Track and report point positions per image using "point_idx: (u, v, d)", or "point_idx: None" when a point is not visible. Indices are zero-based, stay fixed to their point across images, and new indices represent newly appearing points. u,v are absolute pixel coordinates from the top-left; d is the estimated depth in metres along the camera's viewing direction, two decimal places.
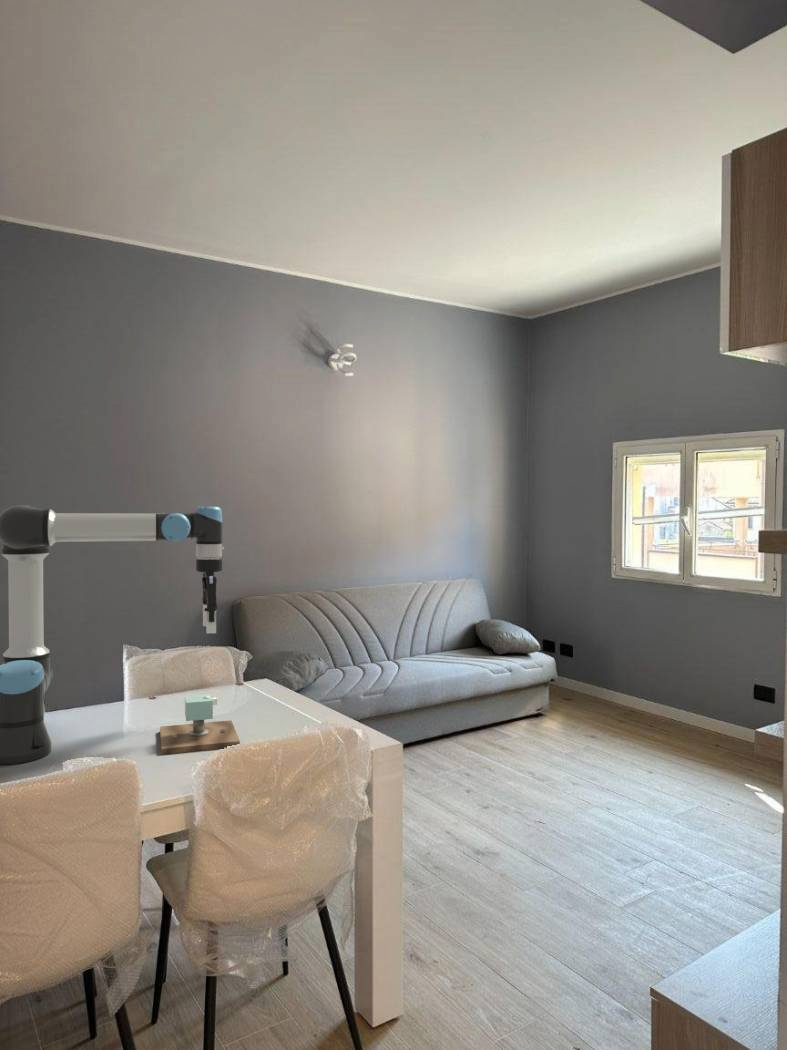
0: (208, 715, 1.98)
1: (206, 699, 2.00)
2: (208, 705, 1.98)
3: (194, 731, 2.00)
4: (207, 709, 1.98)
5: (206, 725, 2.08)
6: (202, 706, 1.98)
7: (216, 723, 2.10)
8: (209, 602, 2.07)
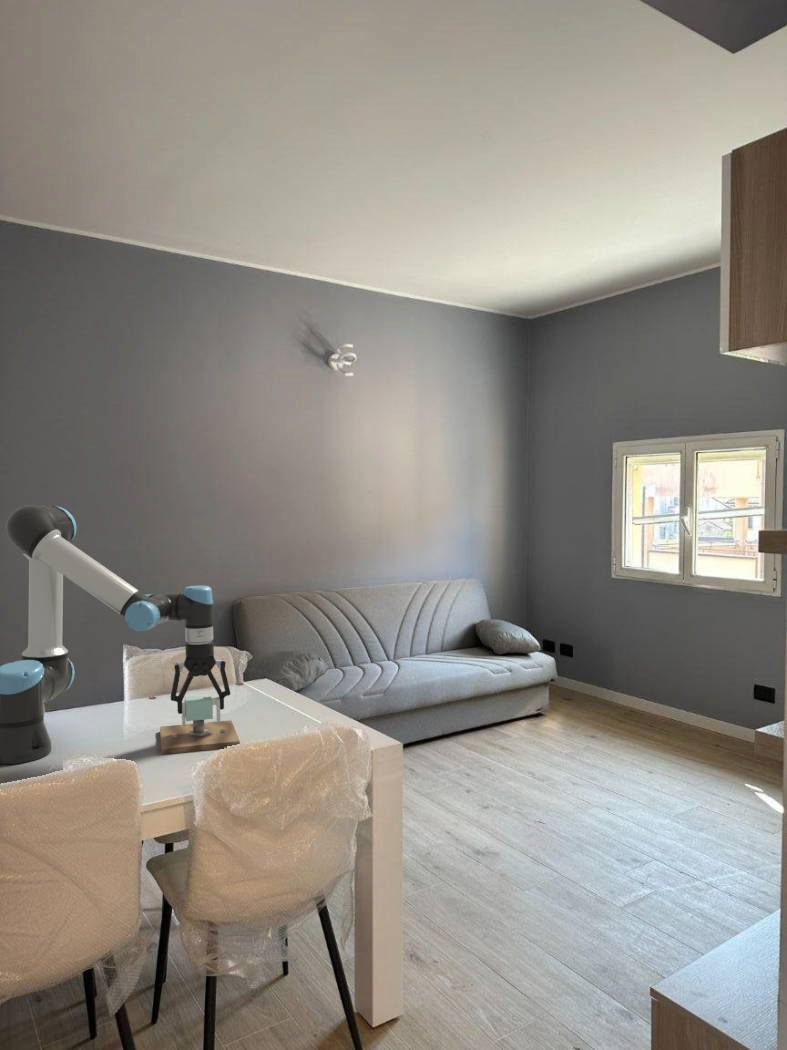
0: (208, 715, 1.98)
1: (206, 699, 2.00)
2: (208, 705, 1.98)
3: (194, 731, 2.00)
4: (207, 709, 1.98)
5: (206, 725, 2.08)
6: (202, 706, 1.98)
7: (216, 723, 2.10)
8: (171, 692, 1.99)
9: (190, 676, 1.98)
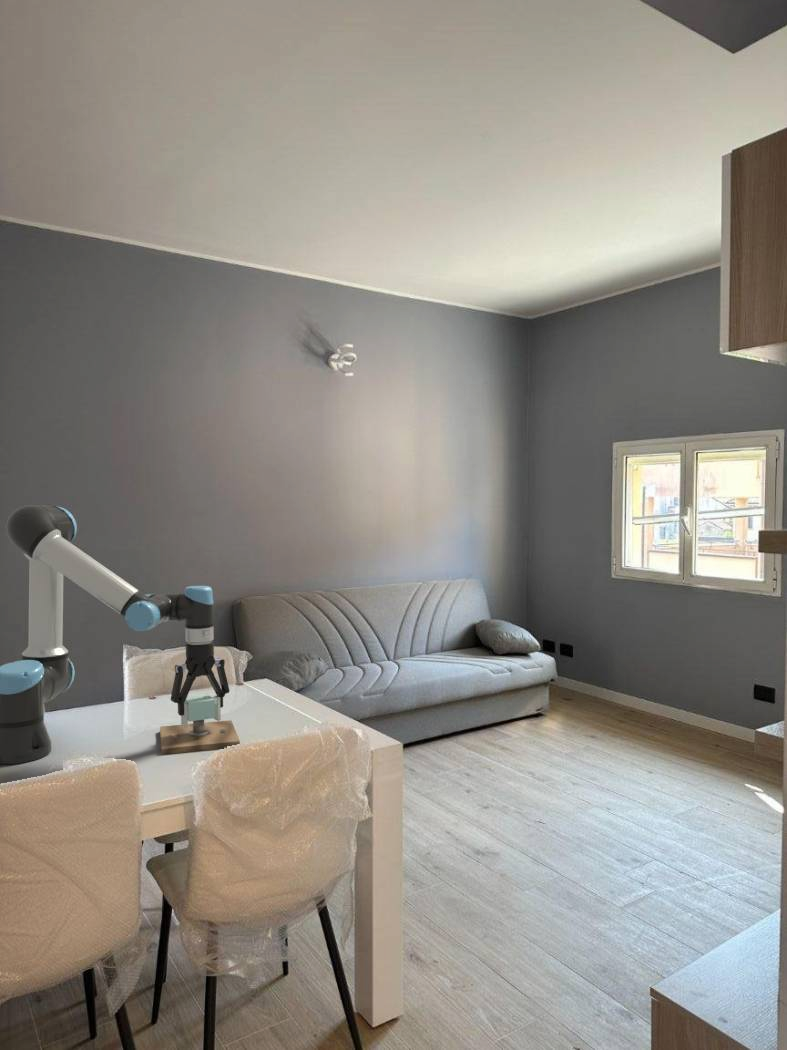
0: (210, 714, 1.99)
1: (207, 699, 2.00)
2: (210, 704, 1.99)
3: (194, 731, 2.00)
4: (209, 708, 1.99)
5: (206, 725, 2.08)
6: (204, 706, 1.98)
7: (216, 723, 2.10)
8: (172, 694, 1.96)
9: (193, 677, 1.98)
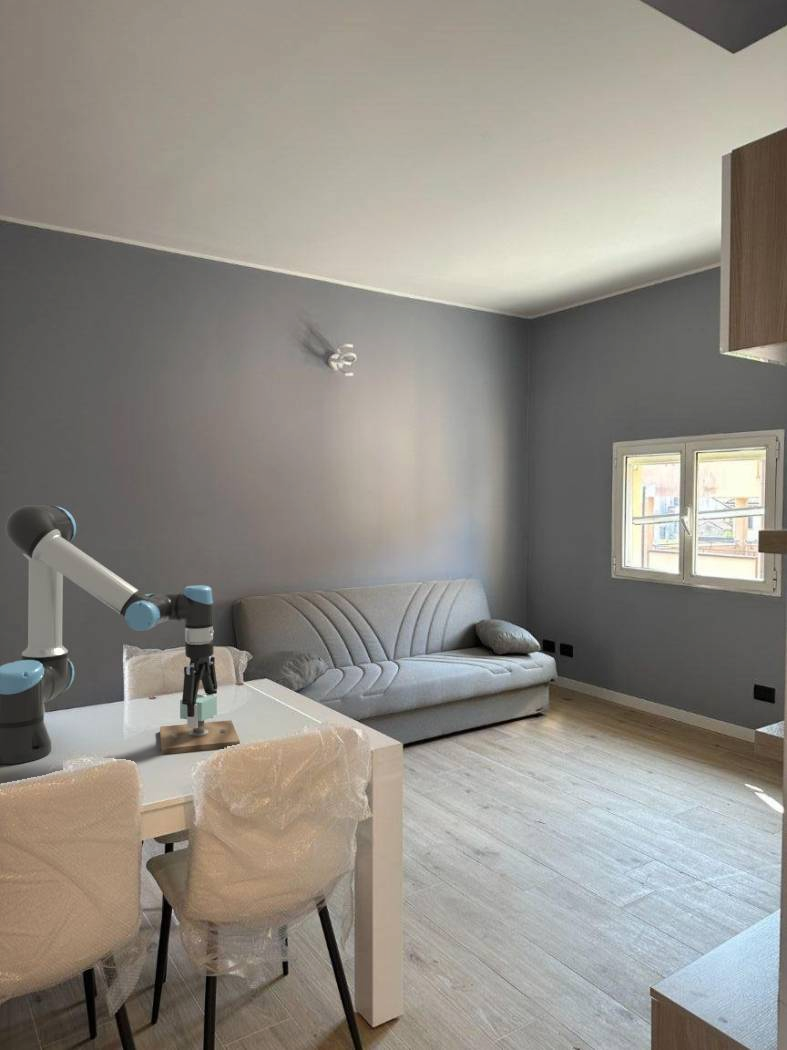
0: (214, 711, 2.02)
1: (208, 697, 2.02)
2: (214, 702, 2.02)
3: (194, 731, 2.00)
4: (213, 706, 2.02)
5: (206, 725, 2.08)
6: (210, 703, 2.00)
7: (216, 723, 2.10)
8: (184, 696, 1.94)
9: (201, 676, 1.98)
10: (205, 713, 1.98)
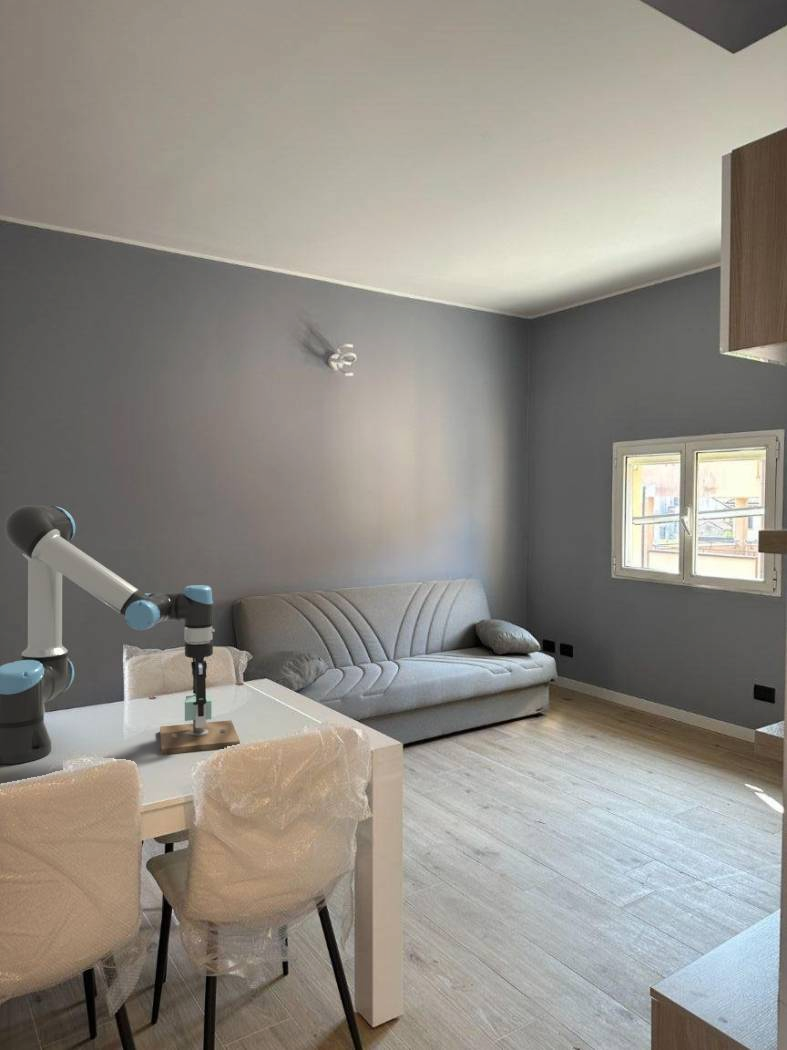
0: None
1: None
2: None
3: (194, 731, 2.00)
4: None
5: (206, 725, 2.08)
6: None
7: (216, 723, 2.10)
8: (198, 696, 1.94)
9: None
10: (211, 711, 2.00)
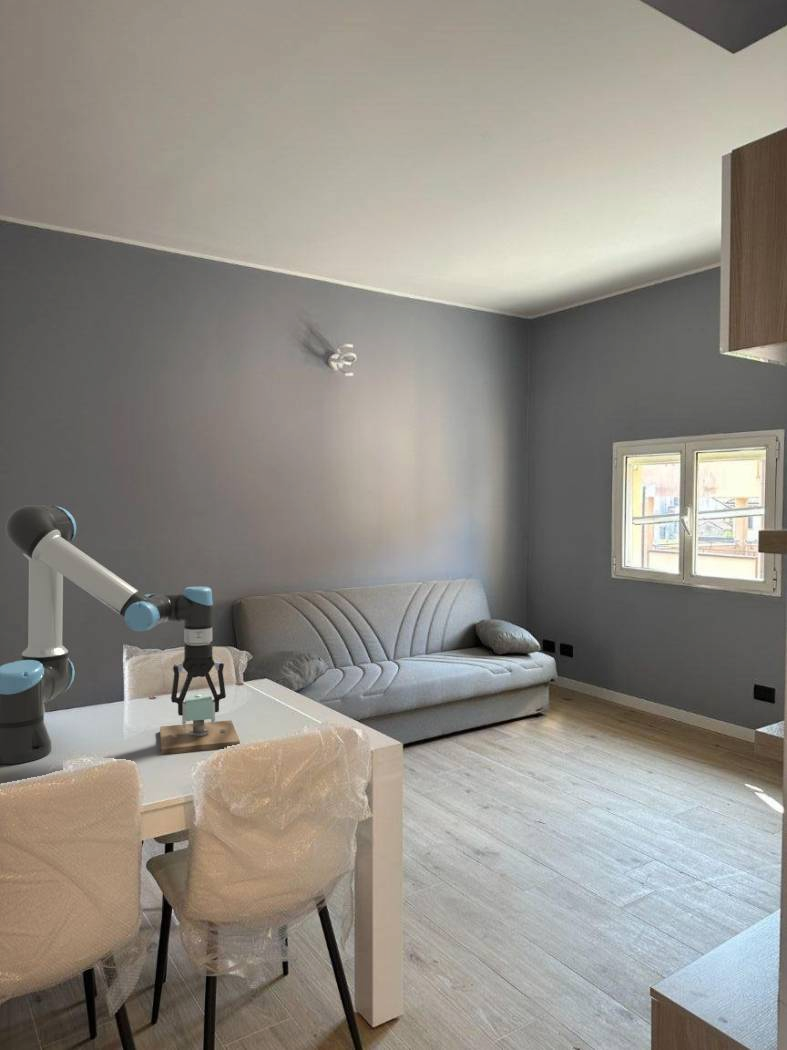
0: None
1: (204, 696, 2.03)
2: None
3: (194, 731, 2.00)
4: None
5: (206, 725, 2.08)
6: None
7: (216, 723, 2.10)
8: None
9: (189, 677, 1.98)
10: None
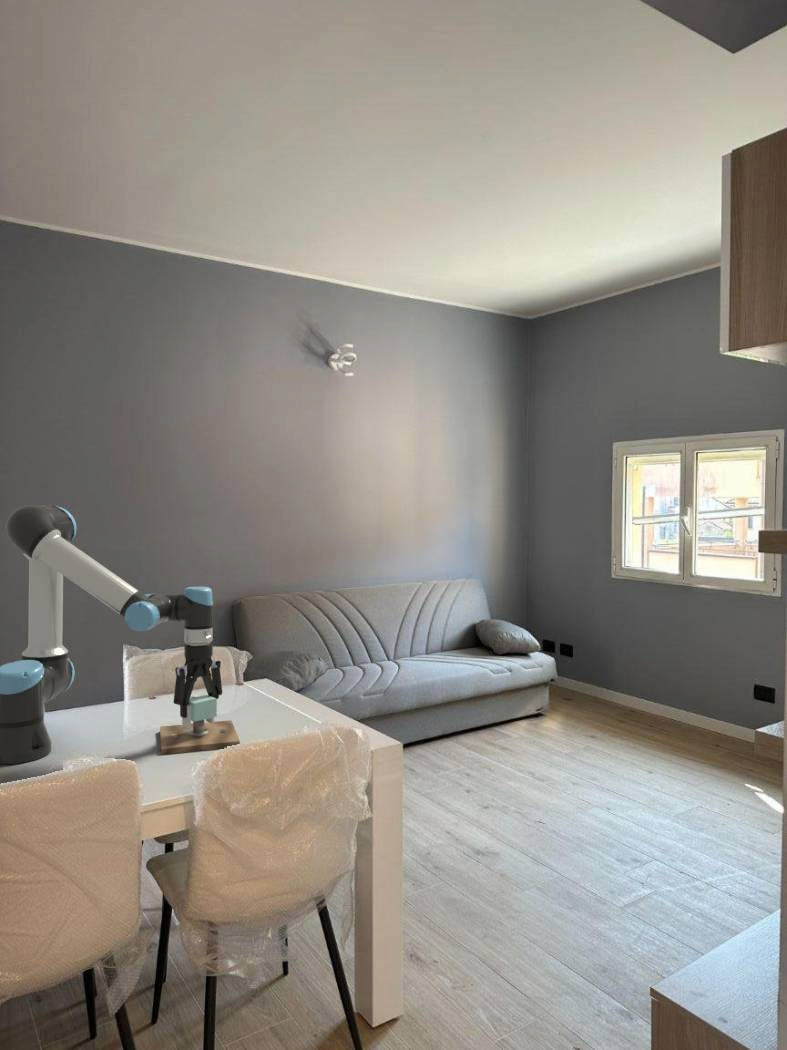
0: None
1: (200, 695, 2.03)
2: None
3: (194, 731, 2.00)
4: None
5: (206, 725, 2.08)
6: None
7: (216, 723, 2.10)
8: (175, 697, 1.96)
9: (194, 678, 1.98)
10: None
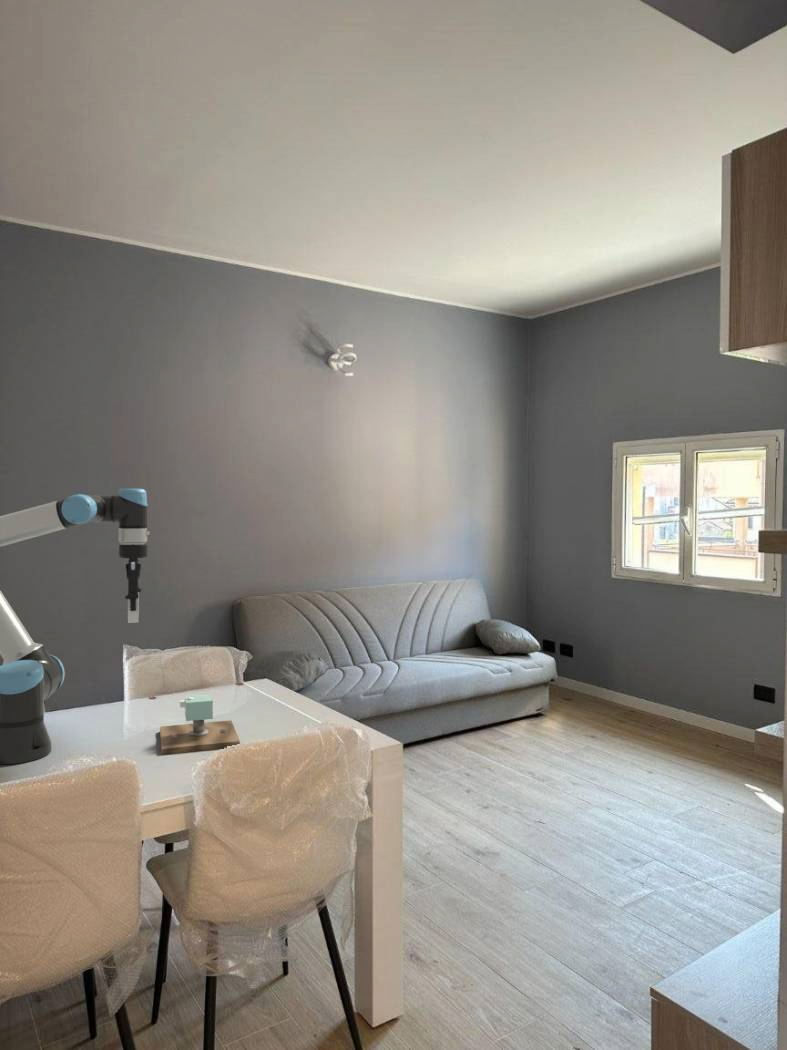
0: None
1: None
2: None
3: (194, 731, 2.00)
4: None
5: (206, 725, 2.08)
6: None
7: (216, 723, 2.10)
8: (130, 589, 1.95)
9: (139, 574, 2.01)
10: None
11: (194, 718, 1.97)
